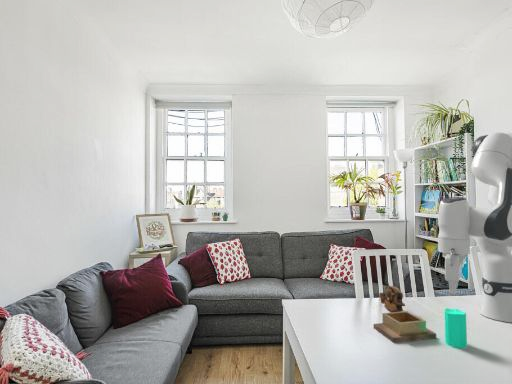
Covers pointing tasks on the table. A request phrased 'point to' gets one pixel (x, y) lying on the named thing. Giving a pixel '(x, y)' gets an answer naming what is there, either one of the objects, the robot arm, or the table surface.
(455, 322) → the candle
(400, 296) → the wooden carving
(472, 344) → the table surface
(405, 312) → the candle stand
